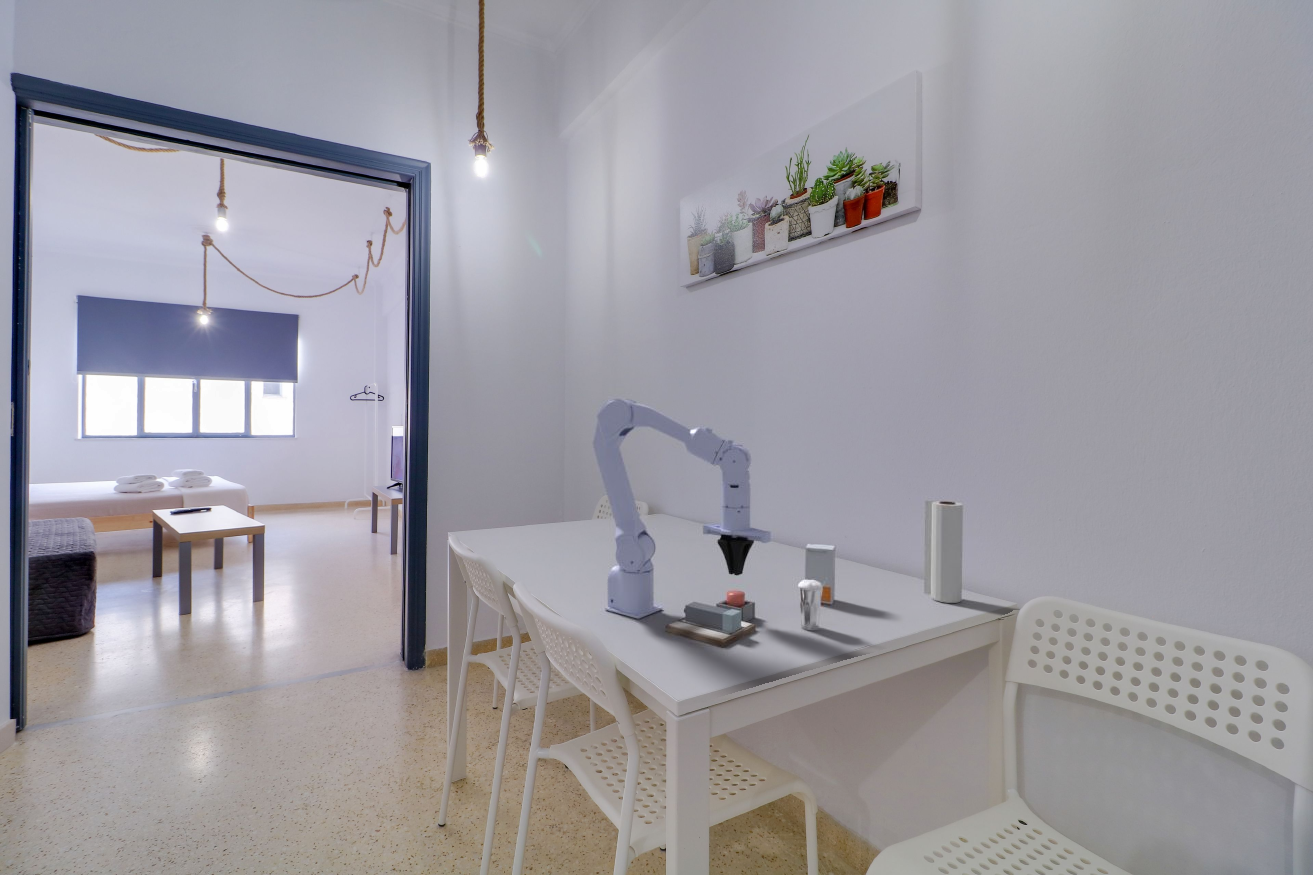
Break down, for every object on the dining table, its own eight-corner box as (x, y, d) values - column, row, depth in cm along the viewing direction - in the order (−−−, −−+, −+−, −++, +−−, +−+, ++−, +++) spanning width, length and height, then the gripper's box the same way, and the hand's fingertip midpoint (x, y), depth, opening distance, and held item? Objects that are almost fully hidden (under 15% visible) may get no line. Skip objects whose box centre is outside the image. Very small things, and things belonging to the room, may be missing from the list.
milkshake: (822, 634, 111) (823, 581, 111) (794, 629, 114) (794, 576, 114) (829, 627, 115) (830, 575, 115) (802, 622, 118) (802, 571, 118)
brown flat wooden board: (665, 630, 114) (665, 624, 113) (699, 615, 122) (699, 609, 122) (723, 647, 105) (723, 640, 105) (755, 629, 114) (755, 623, 114)
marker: (680, 619, 116) (680, 603, 116) (690, 615, 119) (690, 599, 118) (732, 632, 109) (731, 615, 109) (741, 628, 111) (741, 610, 111)
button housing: (716, 618, 120) (716, 603, 120) (731, 611, 125) (731, 596, 125) (740, 624, 117) (740, 609, 117) (755, 616, 121) (755, 602, 121)
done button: (723, 608, 120) (723, 593, 120) (732, 603, 123) (732, 589, 123) (738, 611, 118) (738, 596, 118) (748, 607, 121) (748, 592, 121)
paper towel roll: (966, 604, 129) (968, 504, 128) (937, 603, 129) (939, 504, 128) (951, 593, 136) (952, 499, 135) (924, 593, 136) (925, 499, 135)
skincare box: (804, 601, 131) (804, 547, 130) (807, 596, 135) (807, 543, 134) (833, 604, 128) (833, 549, 128) (835, 599, 132) (835, 545, 132)
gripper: (694, 505, 121) (694, 571, 122) (757, 512, 112) (757, 584, 113) (713, 501, 127) (713, 565, 127) (775, 507, 118) (775, 576, 118)
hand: (735, 573), depth 120 cm, fingers closed
